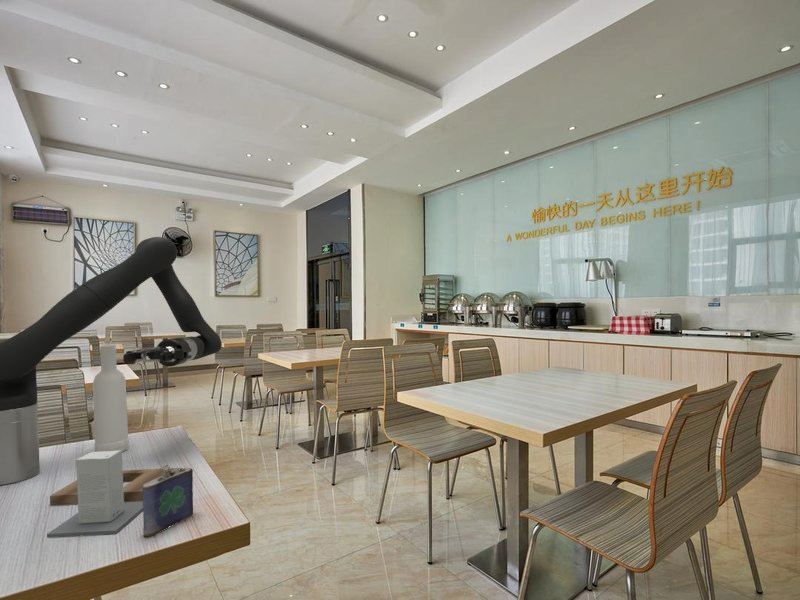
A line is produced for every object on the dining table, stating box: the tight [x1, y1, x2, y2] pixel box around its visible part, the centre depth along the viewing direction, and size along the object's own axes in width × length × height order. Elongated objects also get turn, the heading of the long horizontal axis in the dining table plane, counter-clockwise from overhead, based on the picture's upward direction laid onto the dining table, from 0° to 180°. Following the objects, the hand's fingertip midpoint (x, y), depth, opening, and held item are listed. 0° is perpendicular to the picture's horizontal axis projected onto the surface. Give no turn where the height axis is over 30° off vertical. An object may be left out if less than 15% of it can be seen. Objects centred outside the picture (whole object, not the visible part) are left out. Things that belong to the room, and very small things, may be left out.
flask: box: [142, 464, 194, 537], centre depth 77 cm, size 9×3×11 cm, turn 151°
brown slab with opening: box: [49, 467, 179, 506], centre depth 93 cm, size 20×12×2 cm, turn 92°
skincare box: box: [75, 450, 124, 524], centre depth 79 cm, size 6×4×12 cm
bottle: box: [92, 343, 130, 453], centre depth 118 cm, size 8×8×30 cm
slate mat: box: [46, 501, 143, 538], centre depth 80 cm, size 12×11×1 cm
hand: (143, 358), depth 101 cm, fingers open, 8 cm apart
